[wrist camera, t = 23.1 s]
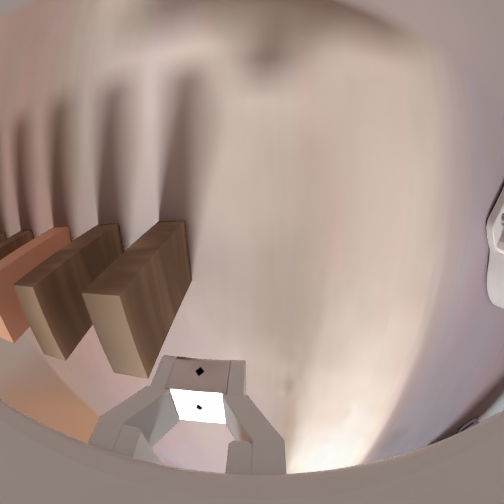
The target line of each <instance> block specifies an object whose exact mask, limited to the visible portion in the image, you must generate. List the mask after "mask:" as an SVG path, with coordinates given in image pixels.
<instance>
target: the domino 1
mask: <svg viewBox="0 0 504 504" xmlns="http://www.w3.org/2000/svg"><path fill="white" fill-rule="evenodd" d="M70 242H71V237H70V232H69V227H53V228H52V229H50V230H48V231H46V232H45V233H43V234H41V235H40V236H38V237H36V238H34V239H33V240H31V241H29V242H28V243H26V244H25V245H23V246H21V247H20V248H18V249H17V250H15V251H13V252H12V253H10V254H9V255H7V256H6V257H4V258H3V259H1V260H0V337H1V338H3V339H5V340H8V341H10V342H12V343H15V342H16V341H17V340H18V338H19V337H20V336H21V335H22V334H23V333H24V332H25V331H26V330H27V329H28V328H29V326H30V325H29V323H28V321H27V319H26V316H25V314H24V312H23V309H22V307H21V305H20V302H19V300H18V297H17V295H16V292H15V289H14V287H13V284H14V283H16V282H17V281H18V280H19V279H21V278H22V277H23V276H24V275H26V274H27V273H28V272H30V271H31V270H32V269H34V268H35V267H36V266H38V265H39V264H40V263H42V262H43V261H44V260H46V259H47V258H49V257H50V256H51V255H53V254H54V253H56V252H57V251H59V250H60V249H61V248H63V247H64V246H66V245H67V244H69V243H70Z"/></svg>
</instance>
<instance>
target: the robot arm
mask: <svg viewBox="0 0 504 504" xmlns="http://www.w3.org/2000/svg"><path fill="white" fill-rule="evenodd" d="M486 231H487V238H488V243H489V248H490V255H489V264H488V272H487V290H488V295H489V298H490V300H491V302H492V303H493V304H494V305H496V306H498V307H500V308H503V309H504V187H503V190H502V192H501V194H500V196H499V198H498V200H497V202H496V204H495V206H494V208H493V210H492V212H491V214H490V216H489V218H488V221H487V226H486ZM180 419H184V420H195V421H206V422H215V423H226V426H227V427H228V429H229V431H230V433H231V434H232V436H233V438H234V439H235V441H232V442H230V443H229V446H228V455H227V464H226V472H225V473H215V472H205V471H197V470H190V469H183V468H177V467H171V466H166V465H161V464H160V460H159V459H158V457H157V456H156V454H155V453H154V451H153V450H152V447H153V446H154V445H155V444H156V443H157V442H158V441H159V440H160V439H161V438H162V437H163V436H164V435H165V434H166V433H167V432H168V431H169V430H170V429H171V428H172V427H174V426H175V425H176V424H177V423H178V422H179V421H180ZM0 504H504V411H502V412H499V413H497V414H495V415H493V416H491V417H490V418H488V419H486V420H484V421H482V422H480V423H478V424H476V425H475V426H473V427H470V428H468V429H466V430H464V431H462V432H460V433H458V434H455V435H453V436H451V437H449V438H446V439H444V440H441V441H439V442H436V443H434V444H431V445H428V446H426V447H423V448H420V449H417V450H414V451H411V452H408V453H404V454H401V455H398V456H394V457H391V458H387V459H383V460H379V461H375V462H371V463H366V464H361V465H356V466H351V467H346V468H339V469H333V470H326V471H317V472H308V473H295V474H286V461H285V443H284V439H283V438H282V437H281V436H280V435H279V433H278V432H277V431H276V430H275V429H274V427H273V426H272V425H271V424H270V423H269V421H268V420H267V419H266V418H265V417H264V415H263V414H262V413H261V412H260V410H259V409H258V408H257V407H256V405H255V404H254V403H253V401H252V400H251V399H250V398H249V396H248V395H246V361H245V360H212V359H196V358H186V357H175V356H168V355H164V356H163V357H162V359H161V361H160V364H159V366H158V369H157V371H156V374H155V376H154V379H153V381H152V384H151V386H146V387H144V388H143V389H141V390H140V391H138V392H137V393H135V394H134V395H132V396H131V397H129V398H128V399H126V400H125V401H123V402H122V403H120V404H119V405H117V406H116V407H114V408H113V409H111V410H110V411H108V412H106V413H105V414H103V415H102V416H100V418H99V420H98V422H97V424H96V426H95V428H94V431H93V433H92V435H91V438H90V439H89V442H88V443H85V442H82V441H80V440H77V439H75V438H72V437H70V436H68V435H65V434H63V433H61V432H59V431H57V430H54V429H52V428H50V427H48V426H46V425H44V424H42V423H40V422H38V421H36V420H34V419H33V418H31V417H29V416H27V415H25V414H24V413H22V412H20V411H18V410H16V409H15V408H13V407H12V406H10V405H8V404H7V403H5V402H4V401H2V400H1V399H0Z"/></svg>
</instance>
